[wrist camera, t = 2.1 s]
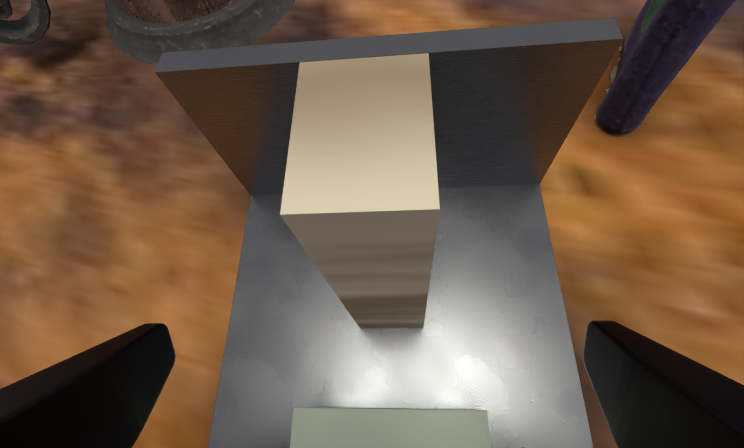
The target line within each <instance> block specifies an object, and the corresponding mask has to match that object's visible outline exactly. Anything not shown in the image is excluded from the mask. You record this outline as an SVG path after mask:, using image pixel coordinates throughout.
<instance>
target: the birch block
mask: <svg viewBox="0 0 744 448" xmlns="http://www.w3.org/2000/svg"><path fill="white" fill-rule="evenodd" d="M439 212H440V204H439V190H438V177H437V163H436V149H435V135H434V121H433V108H432V94H431V80H430V66H429V53H424V54H410V55H396V56H382V57H368V58H354V59H340V60H326V61H312V62H300V64H299V72H298V79H297V87H296V95H295V102H294V110H293V118H292V126H291V133H290V141H289V149H288V157H287V164H286V172H285V180H284V187H283V195H282V203H281V211H280V215H281V217H282V218H283V220H284V221H285V222H286V224H287V225H288V227H289V228H290V230H291V231H292V232H293V234H294V235H295V237H296V238H297V239H298V241H299V242H300V244H301V245H302V247H303V248H304V249H305V251H306V252H307V254H308V255H309V257H310V258H311V259H312V261H313V262H314V264H315V265H316V266H317V268H318V269H319V271H320V272H321V274H322V275H323V276H324V278H325V279H326V281H327V282H328V284H329V285H330V286H331V288H332V289H333V291H334V292H335V293H336V295H337V296H338V298H339V299H340V301H341V302H342V303H343V305H344V306H345V308H346V309H347V311H348V312H349V313H350V315H351V316H352V318H353V319H354V321H355V322H356V323H357V325H358V326H359V328H423V327H424V320H425V313H426V306H427V298H428V291H429V284H430V277H431V270H432V262H433V255H434V248H435V241H436V233H437V226H438V219H439Z"/></svg>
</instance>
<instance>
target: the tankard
mask: <svg viewBox="0 0 744 448" xmlns="http://www.w3.org/2000/svg"><path fill="white" fill-rule="evenodd" d="M294 1H295V0H105V5H106V8H107V29H108V33H109V37H110V38H111V40H112V41H113V43H114V44H115V46H116V47H117V48H118V49H120V50H121V51H122V52H124V53H125V54H126V55H127V56H130V57H132V58H135V59H137V60H139V61H142V62H147V63H152V64H158V63H159V60H160V57H161V54H162V53H164V52H177V51H190V50H203V49H216V48H229V47H242V46H246V45H248V44H250V43H251V42H253V41H255V40H257V39H258V38H260V37H261V36H263V35H264V34H265V33H266V32H268V31H269V30H270V29H271V28H273V27H274V26H275V25H276V24H277V23H278V22H279V21H280V20H281V19H282V18H283V17H284V15H285V14H286V13H287V12H288V11H289V9H290V7H291V6H292V4H293V2H294ZM0 4H1V6H0V18H1V19H8V18H9V17H10V16H11V15H12V7H11V4H10V0H0ZM50 16H51V12H50V9H49V6H48V2H47V0H31V9H30V10H29V12H28V13H27V15H26V16H24V17H23V18H21V19H19V20H13V21H7V20H1V19H0V42H2V43H9V44H16V45H22V44H28V43H33V42H35V41H36V40H38V39H40V38H41V37H43V35H44V34H45V33H46V31H47V30H48V28H49V26H50Z"/></svg>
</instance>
